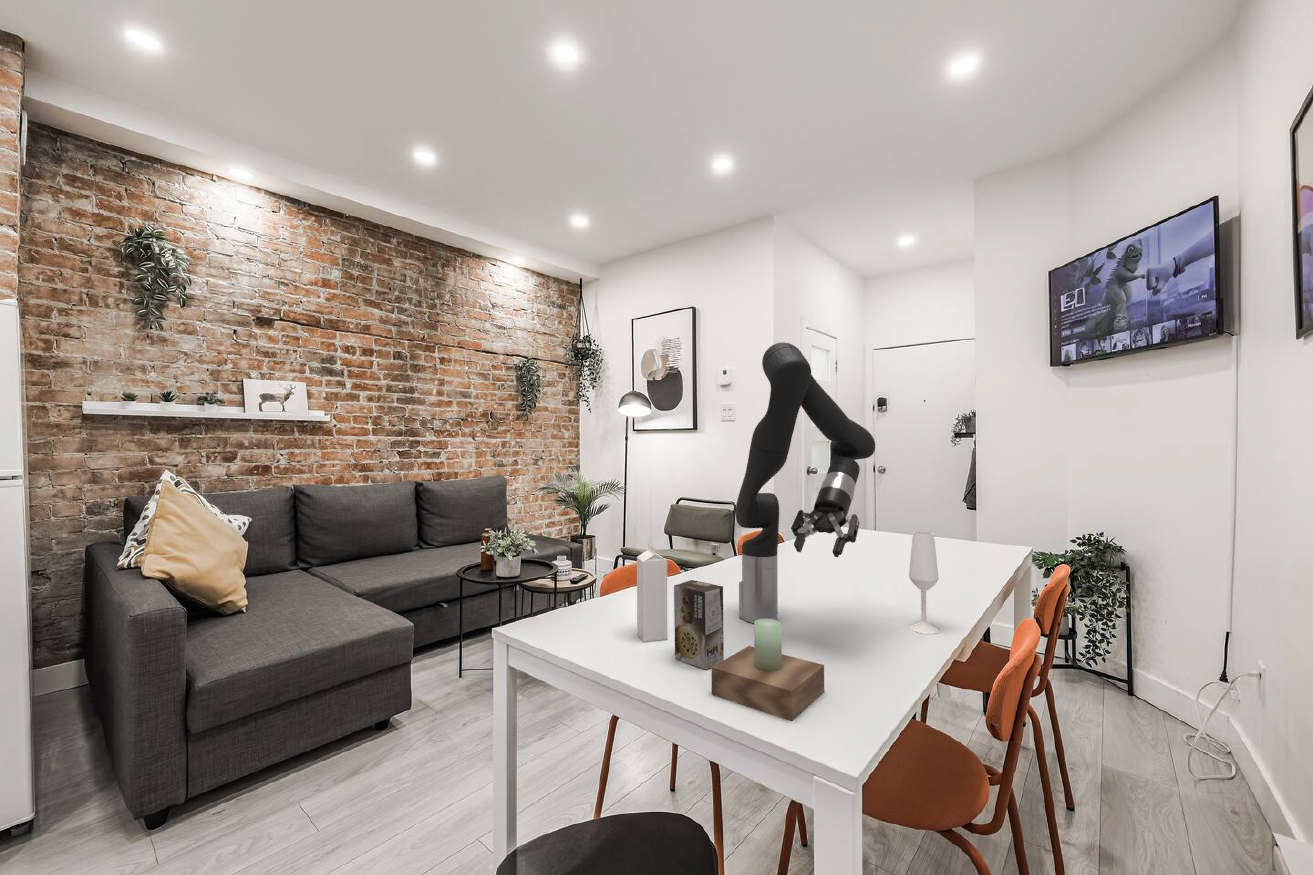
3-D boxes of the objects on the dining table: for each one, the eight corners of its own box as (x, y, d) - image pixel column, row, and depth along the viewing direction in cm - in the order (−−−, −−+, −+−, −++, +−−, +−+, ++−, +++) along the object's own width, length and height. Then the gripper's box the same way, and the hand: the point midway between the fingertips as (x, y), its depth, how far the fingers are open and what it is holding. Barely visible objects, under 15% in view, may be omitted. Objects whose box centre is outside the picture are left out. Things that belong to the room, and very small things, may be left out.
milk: (643, 642, 131) (642, 548, 131) (636, 634, 137) (636, 543, 137) (668, 639, 133) (667, 546, 133) (660, 631, 138) (659, 542, 138)
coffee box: (725, 661, 119) (724, 586, 119) (705, 670, 115) (705, 591, 115) (692, 650, 126) (692, 578, 126) (673, 658, 121) (672, 584, 121)
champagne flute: (934, 635, 135) (933, 536, 135) (905, 629, 139) (904, 533, 139) (942, 628, 140) (941, 532, 140) (914, 623, 144) (913, 529, 144)
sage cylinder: (749, 666, 104) (749, 623, 104) (762, 658, 108) (762, 616, 108) (774, 673, 101) (773, 629, 101) (786, 664, 105) (786, 622, 105)
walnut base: (711, 694, 104) (711, 667, 104) (748, 670, 115) (748, 645, 115) (791, 720, 94) (791, 690, 94) (824, 691, 105) (824, 664, 105)
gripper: (801, 483, 134) (780, 538, 125) (862, 486, 125) (843, 545, 116) (811, 504, 138) (791, 558, 129) (870, 508, 129) (853, 566, 120)
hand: (816, 552), depth 122 cm, fingers open, 8 cm apart
